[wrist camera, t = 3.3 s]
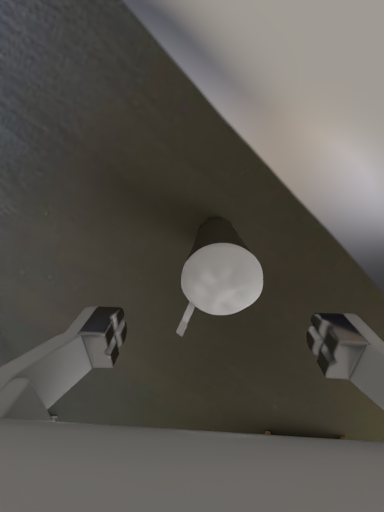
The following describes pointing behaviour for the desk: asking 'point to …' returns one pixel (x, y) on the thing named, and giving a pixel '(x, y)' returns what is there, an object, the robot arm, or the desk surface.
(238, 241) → the milkshake
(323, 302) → the desk surface
